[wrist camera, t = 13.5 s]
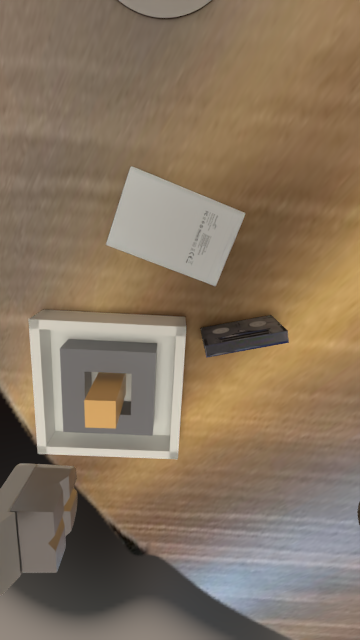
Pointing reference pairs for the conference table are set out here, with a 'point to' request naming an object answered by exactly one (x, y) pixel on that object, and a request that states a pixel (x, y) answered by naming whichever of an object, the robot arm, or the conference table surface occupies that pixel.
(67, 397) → the walled box
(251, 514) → the conference table surface
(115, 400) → the tan rectangular block
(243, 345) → the mini dv tape
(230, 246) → the external hard drive
